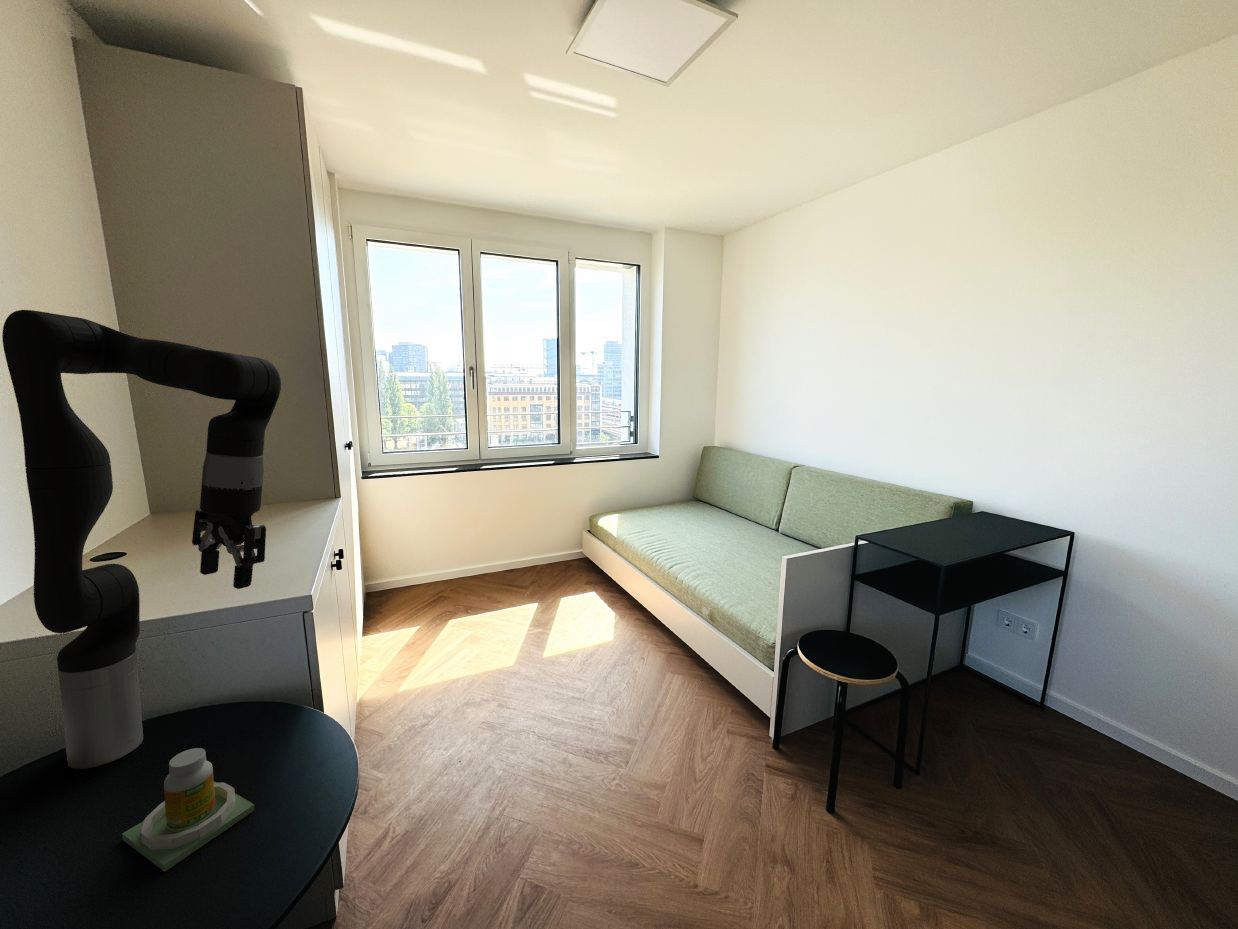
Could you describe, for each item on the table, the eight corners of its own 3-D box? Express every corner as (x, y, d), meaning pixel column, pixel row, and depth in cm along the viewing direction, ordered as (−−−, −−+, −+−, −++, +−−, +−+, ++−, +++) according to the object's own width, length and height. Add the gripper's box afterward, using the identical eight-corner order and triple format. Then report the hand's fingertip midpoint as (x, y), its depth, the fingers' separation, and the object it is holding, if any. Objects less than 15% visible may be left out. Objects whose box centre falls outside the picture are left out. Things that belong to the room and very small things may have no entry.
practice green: (122, 840, 68) (121, 824, 68) (213, 786, 78) (212, 771, 78) (164, 872, 64) (163, 855, 64) (254, 810, 74) (253, 795, 74)
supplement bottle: (186, 837, 68) (182, 774, 67) (156, 829, 69) (151, 767, 68) (224, 806, 73) (221, 747, 72) (196, 800, 74) (192, 741, 73)
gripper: (177, 474, 75) (170, 574, 76) (235, 492, 70) (226, 599, 71) (231, 472, 82) (223, 564, 83) (287, 488, 77) (278, 585, 78)
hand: (225, 580), depth 77 cm, fingers open, 8 cm apart
